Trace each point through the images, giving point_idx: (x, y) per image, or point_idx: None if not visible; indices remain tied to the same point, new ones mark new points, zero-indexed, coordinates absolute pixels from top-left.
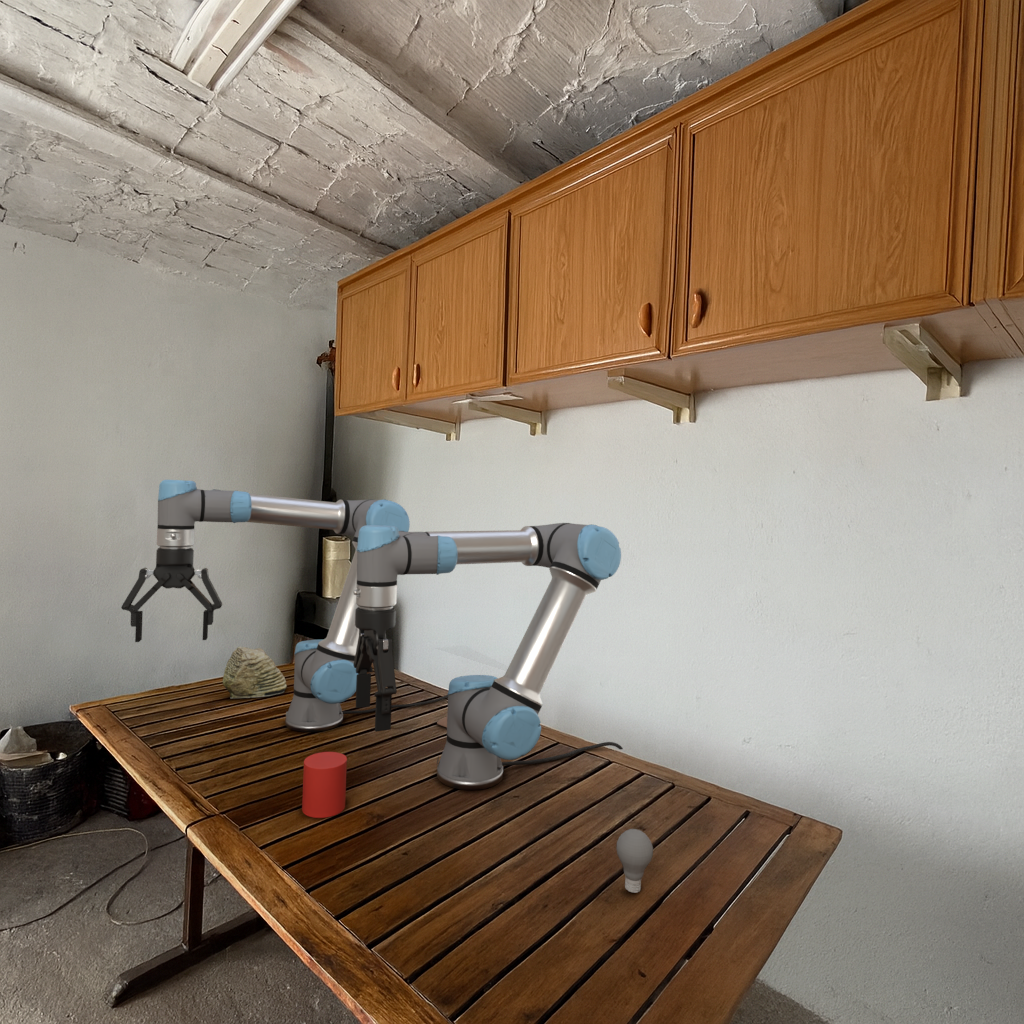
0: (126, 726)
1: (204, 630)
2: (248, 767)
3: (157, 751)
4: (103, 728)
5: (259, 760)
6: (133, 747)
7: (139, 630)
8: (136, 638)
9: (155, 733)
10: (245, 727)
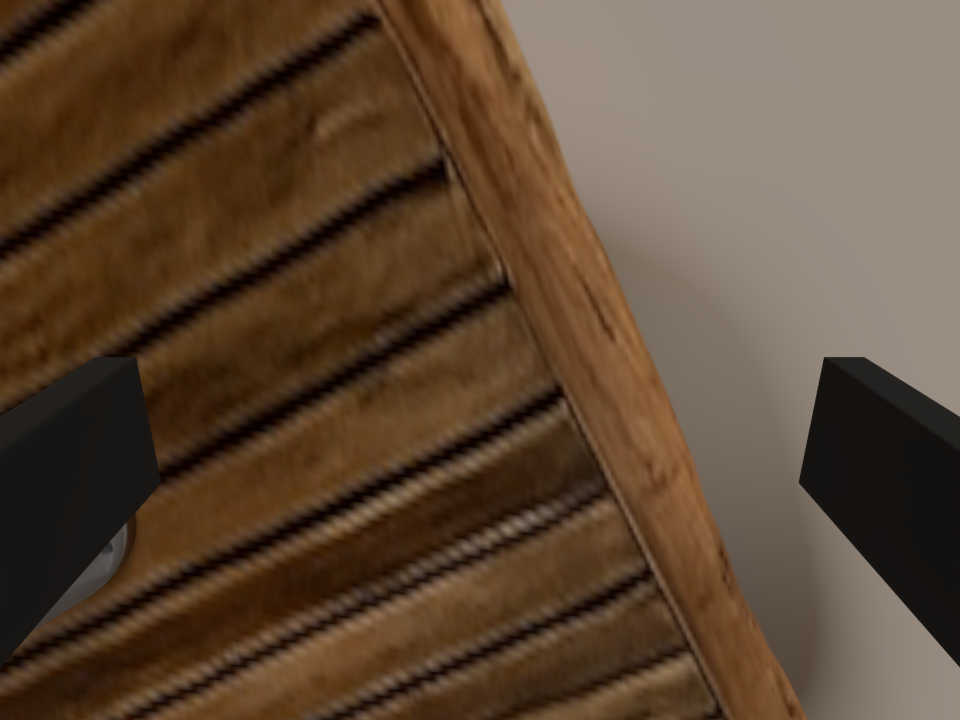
0: (665, 590)
1: (40, 407)
2: (184, 124)
3: (536, 354)
4: (733, 586)
5: (157, 185)
6: (619, 406)
7: (909, 423)
8: (877, 374)
9: (566, 514)
10: (274, 510)
